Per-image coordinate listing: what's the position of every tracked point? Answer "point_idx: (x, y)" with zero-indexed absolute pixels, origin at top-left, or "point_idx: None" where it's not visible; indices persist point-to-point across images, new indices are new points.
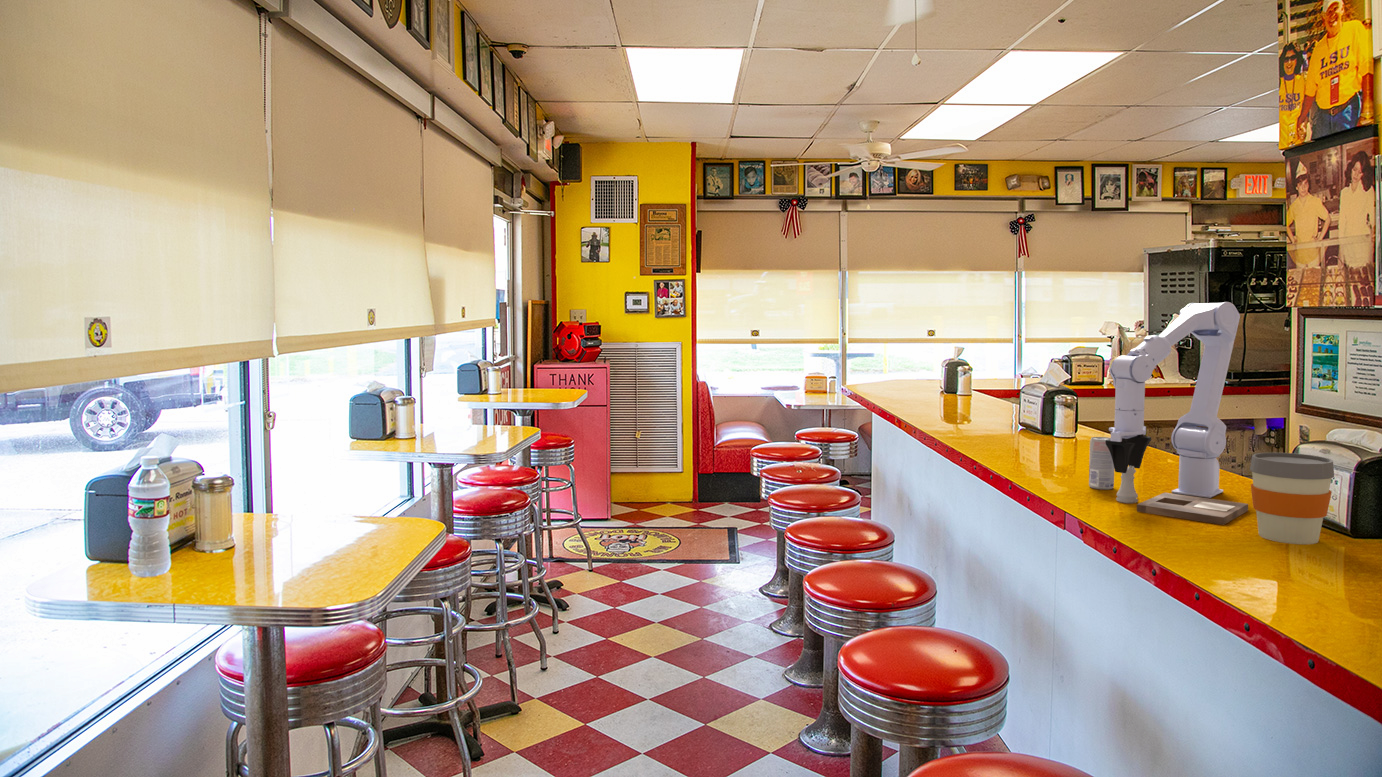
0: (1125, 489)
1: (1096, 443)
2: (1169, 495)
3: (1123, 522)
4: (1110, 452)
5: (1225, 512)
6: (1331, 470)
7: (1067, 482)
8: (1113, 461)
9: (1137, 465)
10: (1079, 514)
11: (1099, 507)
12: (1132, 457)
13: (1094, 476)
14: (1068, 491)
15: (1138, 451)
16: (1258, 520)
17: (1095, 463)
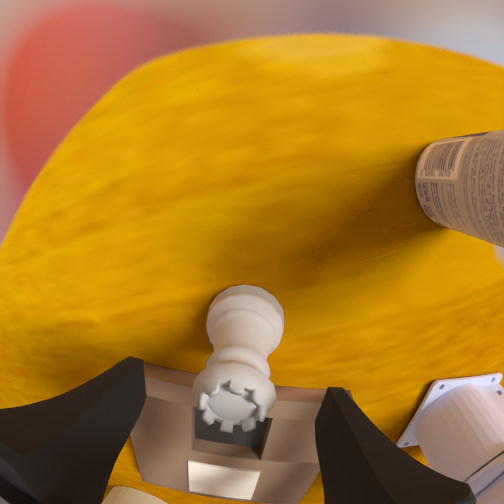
0: (214, 341)
1: None
2: (313, 420)
3: (24, 335)
4: (40, 403)
5: (185, 488)
6: None
7: (455, 67)
8: (89, 383)
9: (318, 428)
10: (13, 237)
11: (100, 260)
12: (336, 442)
13: (442, 161)
14: (307, 84)
15: (332, 493)
16: (113, 500)
17: (479, 163)
